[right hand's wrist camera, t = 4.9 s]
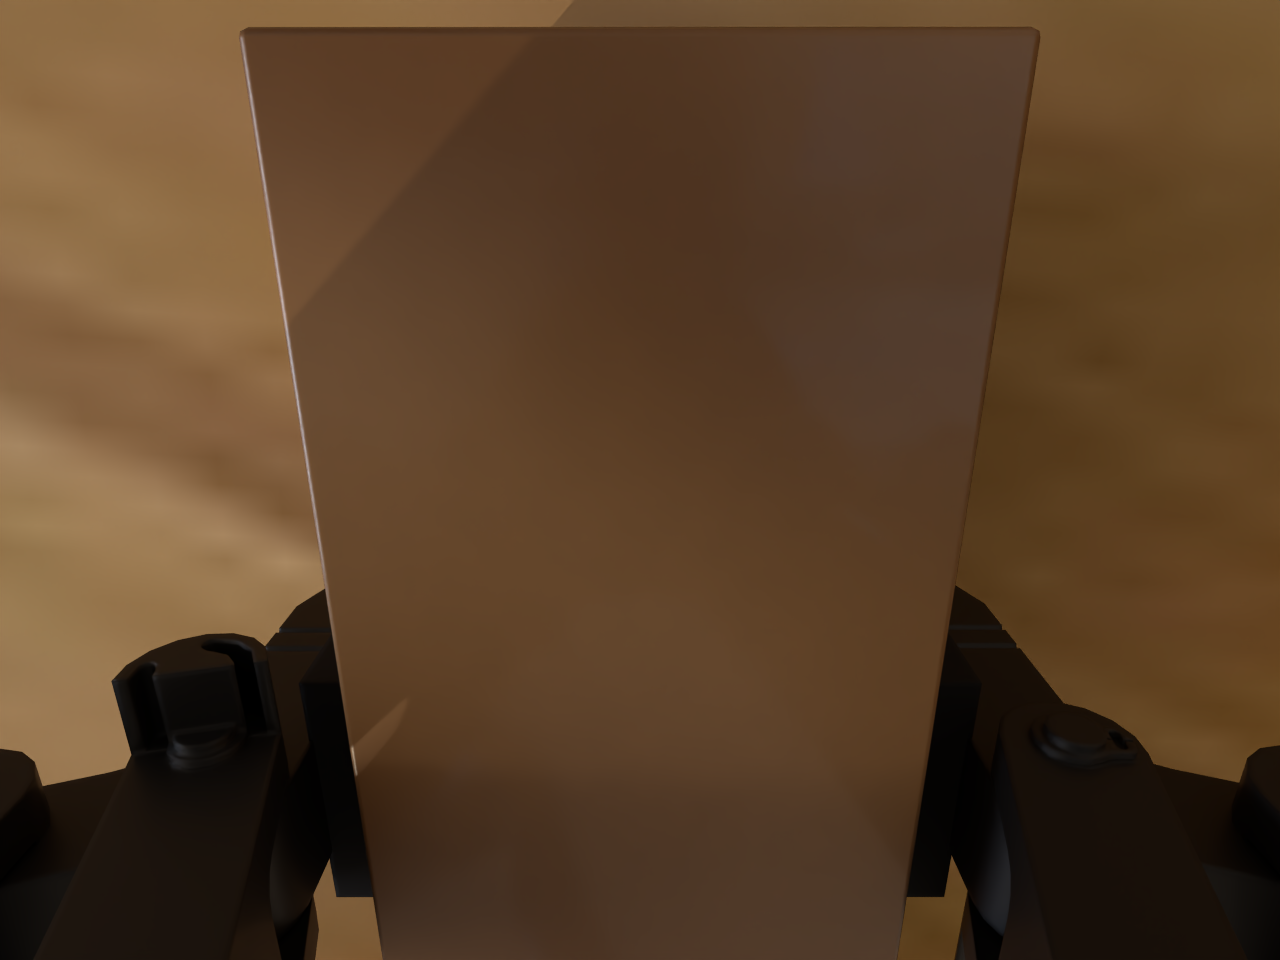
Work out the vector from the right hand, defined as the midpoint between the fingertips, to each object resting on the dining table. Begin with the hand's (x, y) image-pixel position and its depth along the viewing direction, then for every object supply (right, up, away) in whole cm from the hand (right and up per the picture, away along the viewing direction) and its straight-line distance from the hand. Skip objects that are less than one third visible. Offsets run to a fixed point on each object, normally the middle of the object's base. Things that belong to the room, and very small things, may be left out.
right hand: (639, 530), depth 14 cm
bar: (0, -24, +10) cm, 26 cm away
